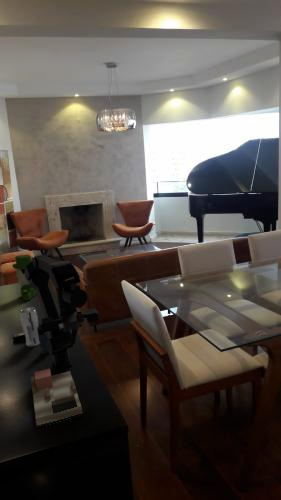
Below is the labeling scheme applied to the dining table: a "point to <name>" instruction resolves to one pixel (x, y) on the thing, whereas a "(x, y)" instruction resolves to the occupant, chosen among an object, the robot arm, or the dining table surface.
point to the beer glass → (30, 325)
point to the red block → (43, 379)
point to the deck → (55, 399)
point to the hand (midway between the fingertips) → (73, 343)
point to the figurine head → (20, 265)
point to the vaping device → (42, 340)
